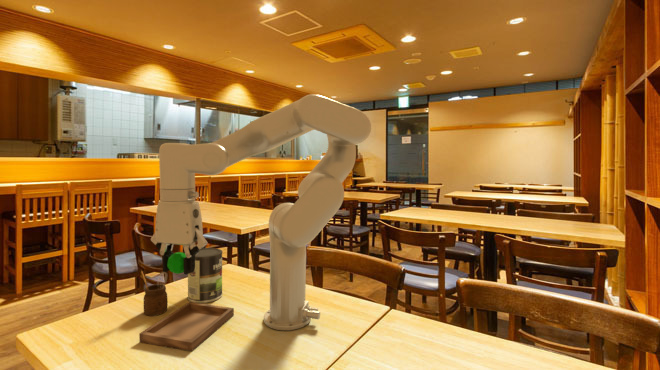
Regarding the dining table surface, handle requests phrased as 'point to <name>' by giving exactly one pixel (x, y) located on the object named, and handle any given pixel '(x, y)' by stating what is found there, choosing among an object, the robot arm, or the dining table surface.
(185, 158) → the robot arm
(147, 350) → the dining table surface
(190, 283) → the coffee can
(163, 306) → the utensil holder
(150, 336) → the tray
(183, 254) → the polyhedron
